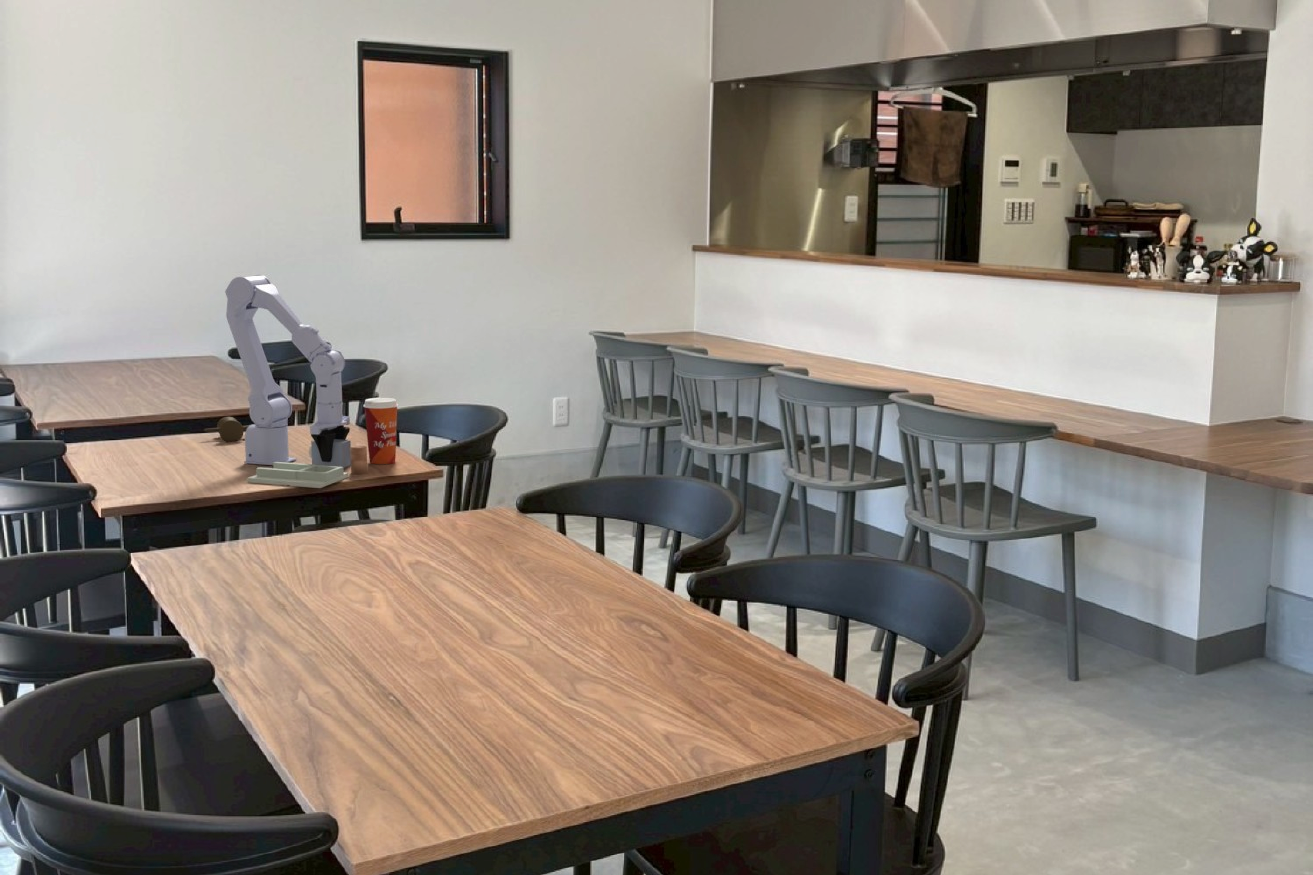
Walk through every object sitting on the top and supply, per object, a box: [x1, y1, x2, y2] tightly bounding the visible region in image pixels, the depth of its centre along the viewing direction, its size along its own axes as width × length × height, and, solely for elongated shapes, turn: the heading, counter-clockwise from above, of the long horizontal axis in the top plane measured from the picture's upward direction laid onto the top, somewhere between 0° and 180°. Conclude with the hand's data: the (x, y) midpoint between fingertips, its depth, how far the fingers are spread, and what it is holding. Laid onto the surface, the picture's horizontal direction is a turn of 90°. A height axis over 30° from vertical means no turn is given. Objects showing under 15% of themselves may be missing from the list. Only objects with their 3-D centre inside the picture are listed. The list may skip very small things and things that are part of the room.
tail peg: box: [350, 445, 368, 476], centre depth 293 cm, size 4×4×6 cm
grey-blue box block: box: [308, 439, 352, 469], centre depth 300 cm, size 9×4×6 cm, turn 74°
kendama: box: [203, 416, 251, 443], centre depth 334 cm, size 6×10×20 cm
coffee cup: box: [362, 397, 399, 465], centre depth 304 cm, size 8×8×15 cm
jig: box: [246, 462, 349, 489], centre depth 285 cm, size 18×12×3 cm, turn 74°
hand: (331, 459), depth 300 cm, fingers closed on grey-blue box block, 4 cm apart
